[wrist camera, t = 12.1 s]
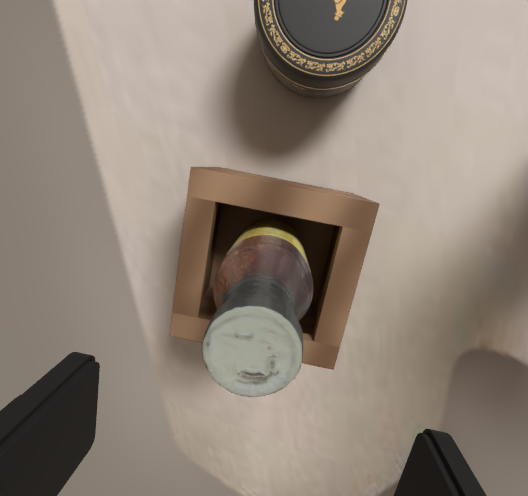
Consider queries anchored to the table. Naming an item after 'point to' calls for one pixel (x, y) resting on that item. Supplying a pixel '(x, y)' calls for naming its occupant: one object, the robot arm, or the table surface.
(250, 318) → the sauce bottle
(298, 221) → the walnut box
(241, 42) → the table surface
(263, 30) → the jar
